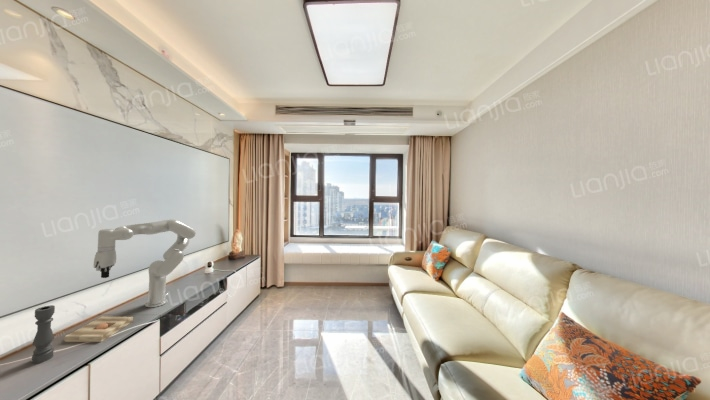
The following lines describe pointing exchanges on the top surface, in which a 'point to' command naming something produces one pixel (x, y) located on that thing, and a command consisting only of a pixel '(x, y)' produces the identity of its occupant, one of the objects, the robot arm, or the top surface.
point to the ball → (102, 326)
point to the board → (98, 335)
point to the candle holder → (43, 334)
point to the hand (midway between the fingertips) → (105, 277)
